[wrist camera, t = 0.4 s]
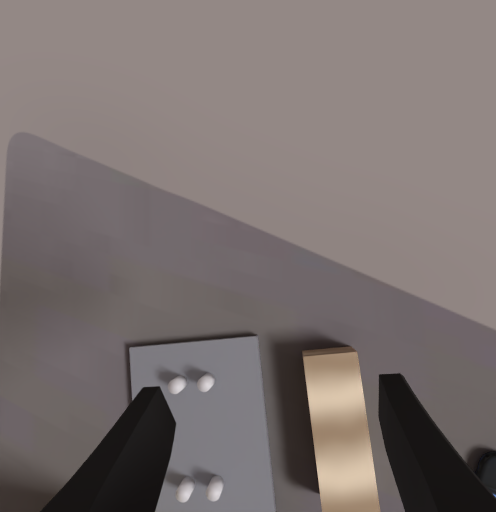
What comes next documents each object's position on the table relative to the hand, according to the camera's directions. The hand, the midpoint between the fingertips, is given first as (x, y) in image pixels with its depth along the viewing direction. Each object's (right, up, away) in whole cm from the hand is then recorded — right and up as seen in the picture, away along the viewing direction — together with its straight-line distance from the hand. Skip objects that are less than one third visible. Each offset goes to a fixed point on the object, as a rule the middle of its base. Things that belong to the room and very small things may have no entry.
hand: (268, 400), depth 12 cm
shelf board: (+8, -12, +24) cm, 28 cm away
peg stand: (-6, -13, +26) cm, 29 cm away
